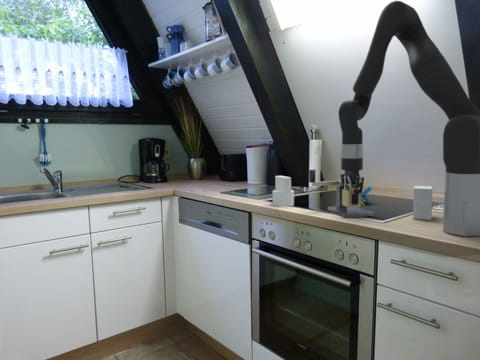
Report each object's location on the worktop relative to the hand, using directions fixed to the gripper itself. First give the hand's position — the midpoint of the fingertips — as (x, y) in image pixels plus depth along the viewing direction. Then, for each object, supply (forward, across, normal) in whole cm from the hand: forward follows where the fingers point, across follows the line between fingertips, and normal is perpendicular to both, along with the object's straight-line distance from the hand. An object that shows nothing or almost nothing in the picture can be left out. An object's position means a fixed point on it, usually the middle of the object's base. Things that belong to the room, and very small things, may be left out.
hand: (351, 203), depth 130 cm
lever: (-6, +8, +6) cm, 11 cm away
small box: (+4, -12, -20) cm, 24 cm away
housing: (+1, 0, 0) cm, 1 cm away
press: (+4, +1, 0) cm, 4 cm away
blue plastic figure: (+4, +17, -13) cm, 22 cm away
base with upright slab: (+4, +24, +19) cm, 31 cm away
